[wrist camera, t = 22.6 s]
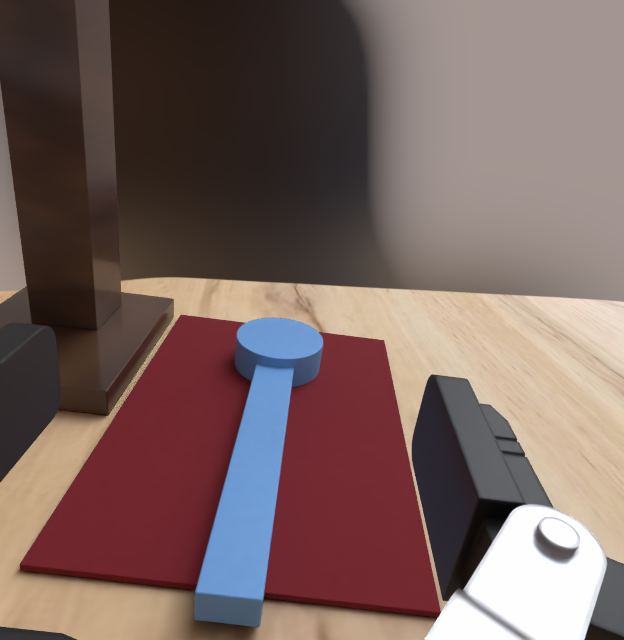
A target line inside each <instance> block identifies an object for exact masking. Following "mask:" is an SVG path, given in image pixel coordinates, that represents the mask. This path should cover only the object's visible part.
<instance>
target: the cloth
mask: <svg viewBox="0 0 624 640" xmlns="http://www.w3.org/2000/svg"><path fill="white" fill-rule="evenodd" d="M243 324H245V323H243V322H235V321H227V320H219V319H211V318H203V317H195V316H187V315H180V317H179V318H178V320H177V322H176V323H175V325H174V326H173V328H172V329H171V331H170V332H169V334H168V336H167V337H166V339H165V340H164V342H163V343H162V345H161V346H160V348H159V349H158V351H157V353H156V354H155V356H154V357H153V359H152V360H151V362H150V363H149V365H148V367H147V368H146V370H145V371H144V373H143V374H142V376H141V377H140V379H139V380H138V382H137V384H136V385H135V387H134V388H133V390H132V391H131V393H130V394H129V396H128V398H127V399H126V401H125V402H124V404H123V405H122V407H121V408H120V410H119V411H118V413H117V415H116V416H115V418H114V419H113V421H112V422H111V424H110V425H109V427H108V429H107V430H106V432H105V433H104V435H103V436H102V438H101V439H100V441H99V442H98V444H97V446H96V447H95V449H94V450H93V452H92V453H91V455H90V456H89V458H88V460H87V461H86V463H85V464H84V466H83V467H82V469H81V470H80V472H79V473H78V475H77V477H76V478H75V480H74V481H73V483H72V484H71V486H70V487H69V489H68V491H67V492H66V494H65V495H64V497H63V498H62V500H61V501H60V503H59V504H58V506H57V508H56V509H55V511H54V512H53V514H52V515H51V517H50V518H49V520H48V522H47V523H46V525H45V526H44V528H43V529H42V531H41V532H40V534H39V535H38V537H37V539H36V540H35V542H34V543H33V545H32V546H31V548H30V549H29V551H28V553H27V554H26V556H25V557H24V559H23V560H22V562H21V563H20V569H21V570H25V571H34V572H42V573H51V574H60V575H69V576H77V577H86V578H95V579H104V580H113V581H121V582H130V583H139V584H148V585H157V586H165V587H174V588H183V589H192V590H196V586H197V582H198V579H199V575H200V571H201V567H202V564H203V560H204V556H205V553H206V549H207V545H208V542H209V538H210V534H211V530H212V527H213V523H214V519H215V516H216V512H217V508H218V504H219V501H220V497H221V493H222V490H223V486H224V482H225V479H226V475H227V471H228V467H229V464H230V460H231V456H232V453H233V449H234V445H235V441H236V438H237V434H238V430H239V427H240V423H241V419H242V416H243V412H244V408H245V404H246V401H247V397H248V393H249V390H250V386H251V382H252V381H250V380H248V379H247V378H245V377H244V376H242V375H241V374H240V373H239V372H238V370H237V369H236V366H235V348H236V334H237V331H238V329H239V328H240V327H241V326H242V325H243ZM319 333H320V335H321V336H322V338H323V349H322V355H321V362H320V368H319V373H318V375H317V376H316V377H315V378H314V379H313V380H312V381H310V382H308V383H306V384H303V385H300V386H296V387H292V389H291V396H290V404H289V411H288V419H287V426H286V434H285V441H284V449H283V456H282V464H281V471H280V479H279V486H278V494H277V501H276V509H275V516H274V524H273V531H272V539H271V546H270V554H269V561H268V569H267V576H266V584H265V591H264V598H271V599H280V600H288V601H297V602H306V603H315V604H323V605H332V606H341V607H350V608H359V609H367V610H376V611H385V612H394V613H403V614H411V615H420V616H429V617H439V615H440V613H441V611H440V606H439V602H438V597H437V592H436V587H435V582H434V578H433V573H432V568H431V563H430V558H429V554H428V549H427V544H426V539H425V534H424V530H423V525H422V520H421V515H420V510H419V506H418V501H417V496H416V491H415V486H414V482H413V477H412V472H411V467H410V462H409V458H408V453H407V448H406V443H405V438H404V434H403V429H402V424H401V419H400V414H399V410H398V405H397V400H396V395H395V390H394V386H393V381H392V376H391V371H390V366H389V362H388V357H387V352H386V347H385V342H384V340H377V339H369V338H361V337H353V336H345V335H337V334H330V333H322V332H319Z"/></svg>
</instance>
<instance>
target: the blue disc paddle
mask: <svg viewBox="0 0 624 640" xmlns="http://www.w3.org/2000/svg"><path fill="white" fill-rule="evenodd" d="M322 349H323V338H322V336H321V335H320V333H319V332H318V331H317V330H315V329H314V328H312V327H311V326H309V325H307V324H304V323H302V322H299V321H295V320H291V319H285V318H261V319H256V320H252V321H249V322H247V323H245V324H243V325H242V326H241V327H240V328H239V329H238V331H237V334H236V348H235V366H236V369H237V370H238V372H239V373H240V374H241V375H242V376H244V377H245V378H247V379H248V380H250V381H252V382H251V386H250V390H249V393H248V397H247V401H246V404H245V408H244V412H243V416H242V419H241V423H240V427H239V430H238V434H237V438H236V441H235V445H234V449H233V453H232V456H231V460H230V464H229V467H228V471H227V475H226V479H225V482H224V486H223V490H222V493H221V497H220V501H219V504H218V508H217V512H216V516H215V519H214V523H213V527H212V530H211V534H210V538H209V542H208V545H207V549H206V553H205V556H204V560H203V564H202V567H201V571H200V575H199V579H198V582H197V586H196V590H195V602H194V619H195V620H200V621H209V622H218V623H226V624H235V625H244V626H252V627H259V626H260V621H261V614H262V606H263V599H264V591H265V584H266V576H267V569H268V561H269V554H270V546H271V539H272V531H273V524H274V516H275V509H276V501H277V494H278V486H279V479H280V471H281V464H282V456H283V449H284V441H285V434H286V426H287V419H288V411H289V404H290V396H291V389H292V387H296V386H300V385H303V384H306V383H308V382H310V381H312V380H313V379H314V378H315V377H316V376H317V375H318V373H319V368H320V362H321V355H322Z"/></svg>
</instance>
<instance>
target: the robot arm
mask: <svg viewBox="0 0 624 640" xmlns="http://www.w3.org/2000/svg"><path fill="white" fill-rule="evenodd" d="M60 400H61V381H60V372H59V363H58V353H57V344H56V336H55V333H54V331H53V329H52V328H51V327H48V326H41V325H33V324H25V323H17V322H10V323H8V324H6V325H5V326H3V327H2V328H1V329H0V482H1V481H2V480H3V478H4V477H5V476H6V475H7V474H8V472H9V471H10V470H11V469H12V468H13V466H14V465H15V464H16V463H17V462H18V460H19V459H20V458H21V457H22V456H23V454H24V453H25V452H26V451H27V449H28V448H29V447H30V446H31V445H32V443H33V442H34V441H35V440H36V439H37V437H38V436H39V435H40V434H41V433H42V431H43V430H44V429H45V428H46V427H47V425H48V424H49V423H50V422H51V420H52V419H53V418H54V416H55V415H56V413H57V410H58V408H59V404H60ZM412 462H413V467H414V472H415V476H416V481H417V485H418V490H419V494H420V499H421V503H422V508H423V512H424V517H425V522H426V526H427V531H428V535H429V540H430V544H431V549H432V553H433V558H434V562H435V567H436V572H437V576H438V581H439V585H440V590H441V594H442V599H443V601H448V603H447V604H446V606H445V607H444V609H443V611H442V612H441V614H440V615H439V617H438V619H437V620H436V622H435V623H434V625H433V626H432V628H431V630H430V631H429V633H428V634H427V636H426V638H425V639H424V640H624V564H623V563H620V562H617V561H615V560H612V559H610V558H608V557H606V555H605V552H604V549H603V548H602V546H601V544H600V542H599V541H598V540H597V538H596V537H595V536H594V535H593V534H592V533H591V532H590V531H589V530H588V529H587V528H586V527H585V526H584V525H583V524H581V523H580V522H578V521H577V520H576V519H574V518H572V517H571V516H569V515H567V514H565V513H563V512H561V511H559V510H556V509H554V508H553V506H552V504H551V502H550V500H549V498H548V496H547V494H546V493H545V491H544V489H543V487H542V485H541V483H540V481H539V479H538V477H537V476H536V474H535V472H534V470H533V468H532V466H531V464H530V462H529V460H528V459H527V457H525V453H524V451H523V449H522V447H521V445H520V443H519V442H517V438H516V436H515V434H514V432H513V430H512V428H511V426H510V425H509V423H508V421H507V420H506V419H505V418H504V417H503V416H502V415H500V414H499V413H498V412H497V411H496V410H495V409H494V408H493V407H492V406H491V405H487V404H479V402H478V400H477V398H476V396H475V393H474V391H473V389H472V387H471V385H470V383H469V381H468V380H467V379H464V378H456V377H448V376H440V375H431V376H430V377H429V379H428V381H427V384H426V387H425V391H424V395H423V399H422V403H421V406H420V410H419V414H418V418H417V422H416V426H415V429H414V434H413V440H412ZM0 640H76V639H74V638H72V637H69V636H67V635H65V634H62V633H53V632H44V631H35V630H26V629H17V628H7V627H0Z"/></svg>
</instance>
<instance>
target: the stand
mask: <svg viewBox="0 0 624 640" xmlns="http://www.w3.org/2000/svg"><path fill="white" fill-rule="evenodd" d="M0 83H1V90H2V99H3V106H4V114H5V122H6V130H7V137H8V145H9V152H10V160H11V168H12V175H13V184H14V191H15V199H16V207H17V214H18V221H19V230H20V237H21V245H22V253H23V261H24V268H25V276H26V283H27V286H26V287H25V288H24V289H22V290H21V291H19V292H18V293H16V294H15V295H13V296H12V297H10V298H9V299H7V300H6V301H4V302H3V303H1V304H0V329H1V328H2V327H3V326H5V325H6V324H8V323H10V322H17V323H25V324H33V325H41V326H48V327H51V328H52V329H53V331H54V333H55V336H56V344H57V353H58V363H59V372H60V381H61V400H60V404H59V408H58V409H61V410H70V411H78V412H86V413H94V414H103V415H108V414H109V413H110V411H111V410H112V408H113V407H114V405H115V404H116V402H117V401H118V399H119V398H120V396H121V395H122V393H123V392H124V390H125V389H126V387H127V386H128V384H129V383H130V382H131V380H132V379H133V377H134V376H135V374H136V373H137V371H138V370H139V368H140V367H141V365H142V364H143V362H144V361H145V359H146V358H147V356H148V355H149V353H150V352H151V350H152V349H153V347H154V346H155V344H156V343H157V341H158V340H159V338H160V337H161V335H162V334H163V332H164V331H165V329H166V328H167V326H168V325H169V323H170V322H171V320H172V319H173V317H174V299H171V298H163V297H155V296H147V295H139V294H131V293H123V292H121V280H120V259H119V258H120V257H119V234H118V212H117V211H118V210H117V187H116V164H115V141H114V118H113V95H112V70H111V48H110V24H109V0H0Z"/></svg>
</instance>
